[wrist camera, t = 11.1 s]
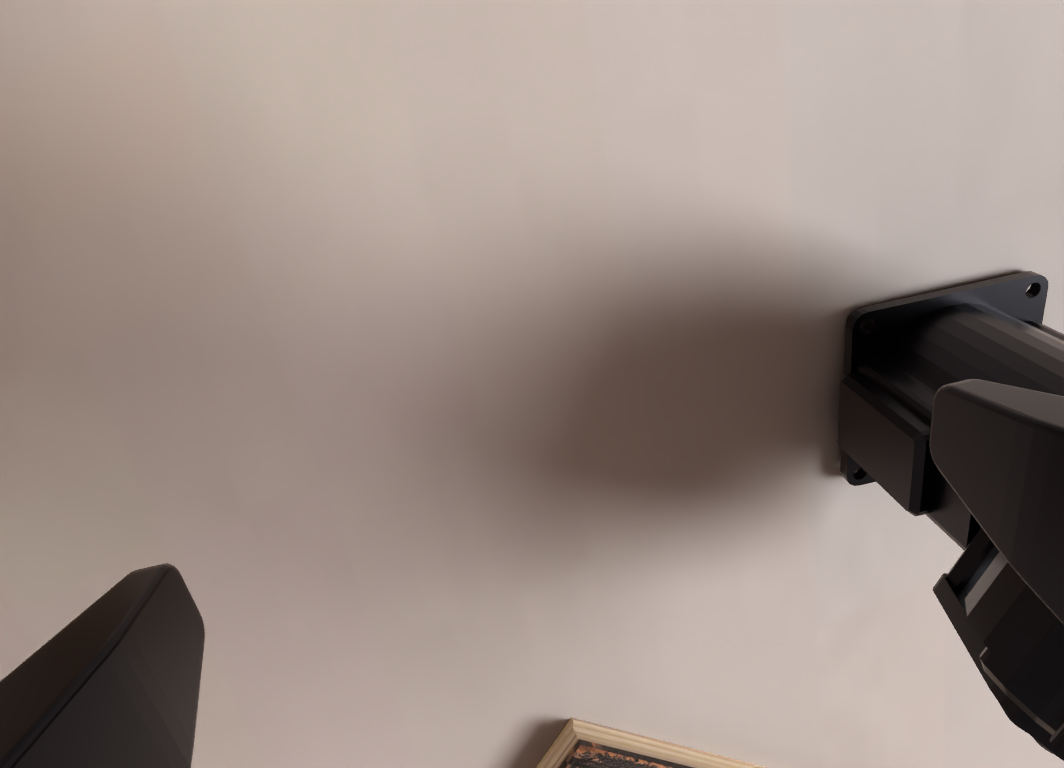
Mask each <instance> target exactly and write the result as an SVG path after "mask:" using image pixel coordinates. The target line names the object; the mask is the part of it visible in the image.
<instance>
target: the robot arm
mask: <svg viewBox="0 0 1064 768" xmlns="http://www.w3.org/2000/svg"><path fill="white" fill-rule="evenodd" d="M1030 284H1031V287H1030V289H1029V290H1028V291H1027V292H1026V290H1027V288H1028V287H1029V286H1030ZM1047 291H1048V281H1047V279H1046V277H1044V276H1042V275H1039V274H1037V273H1034V272H1032V271H1026V272H1021V273H1017V274H1012V275H1008V276H1003V277H998V278H994V279H989V280H985V281H980V282H976V283H971V284H966V285H962V286H957V287H953V288H948V289H944V290H939V291H934V292H930V293H925V294H921V295H916V296H912V297H907V298H902V299H898V300H893V301H889V302H884V303H879V304H875V305H870V306H866V307H861V308H859V309H856V310H855V311H853V312H852V313H851V314H850V316H849V317H848V319H847V321H846V326H845V353H844V375H843V377H842V379H841V381H840V392H839V422H838V445H839V446H840V447H841V464H840V472H841V475H842V476H843V477H844V478H845V479H846V480H847V481H848V482H849V483H850V484H851V485H854V486H857V485H863V484H867V483H872V482H877V483H878V484H879V485H880V486H881V487H882V488H883V489H885V490H886V491H887V492H888V493H889V494H890V495H891V496H892V497H893V498H894V499H895V500H896V501H897V502H898V503H899V504H900V505H901V506H902V507H903V508H904V509H905V510H906V511H908V512H909V513H911V514H913V515H914V516H919V515H923V514H926V515H927V516H928V517H929V518H930V519H931V520H932V521H933V522H934V523H935V524H936V525H937V526H939V527H940V528H941V529H942V530H943V531H944V532H945V533H946V534H947V535H948V536H949V537H950V538H951V539H952V540H954V541H955V542H956V543H957V544H958V545H959V546H960V547H961V548H962V549H963V550H964V552H963V553H962V555H961V556H960V557H959V559H958V560H957V562H956V563H955V564H954V566H953V567H952V569H951V570H950V572H949V573H948V574H945V573H944V574H943V575H942V576H941V578H940V579H939V580H938V582H937V583H936V585H935V586H934V587H933V591H934V593H935V595H936V596H937V598H938V600H939V602H940V603H941V605H942V607H943V609H944V610H945V612H946V614H947V615H948V617H949V619H950V621H951V622H952V624H953V626H954V628H955V629H956V631H957V633H958V635H959V636H960V638H961V640H962V642H963V643H964V645H965V647H966V648H967V650H968V652H969V654H970V655H971V657H972V659H973V661H974V662H975V664H976V666H977V668H978V669H979V671H980V673H981V674H982V676H983V678H984V680H985V681H986V683H987V685H988V687H989V688H990V690H991V691H992V693H993V694H994V696H995V697H996V699H997V700H998V702H999V703H1000V705H1001V707H1002V708H1003V710H1004V712H1005V713H1006V715H1007V716H1008V718H1009V719H1010V720H1011V721H1012V722H1013V723H1014V724H1015V725H1016V726H1018V727H1019V728H1021V729H1022V730H1024V731H1025V732H1027V733H1029V734H1030V735H1031V736H1032V737H1033V738H1034V739H1035V740H1036V742H1037V743H1038V744H1039V745H1040V746H1041V747H1043V748H1044V749H1045V750H1047V751H1049V752H1050V753H1053V754H1055V755H1056V756H1058V757H1059V758H1060V759H1062V760H1063V761H1064V334H1062V333H1060V332H1058V331H1056V330H1053V329H1051V328H1049V327H1047V326H1045V325H1043V324H1042V320H1043V314H1044V308H1045V302H1046V297H1047ZM867 319H868V324H867V325H866V326H865V328H863V329H861V330H860V326H861V324H862V323H863V322H864V321H865V320H867ZM858 468H860V469H859V470H858V471H857V472H855V473H854V471H855V470H856V469H858ZM204 640H205V630H204V624H203V620H202V617H201V615H200V612H199V610H198V608H197V606H196V604H195V602H194V600H193V598H192V596H191V594H190V592H189V590H188V588H187V586H186V584H185V582H184V580H183V578H182V576H181V574H180V572H179V571H178V569H177V568H176V567H175V566H173V565H170V564H168V563H167V564H161V565H157V566H152V567H148V568H143V569H139V570H135V571H133V572H131V573H129V574H128V575H127V576H126V577H124V578H123V579H122V580H121V581H120V582H118V583H117V584H116V585H115V586H114V587H113V588H111V589H110V590H109V591H108V592H107V593H105V594H104V595H103V596H102V597H101V598H99V599H98V600H97V601H96V602H95V603H93V604H92V605H91V606H90V607H89V608H87V609H86V610H85V611H84V612H83V613H82V614H80V615H79V616H78V617H77V618H76V619H74V620H73V621H72V622H71V623H70V624H68V625H67V626H66V627H65V628H64V629H62V630H61V631H60V632H59V633H58V634H56V635H55V636H54V637H53V638H52V639H51V640H49V641H48V642H47V643H46V644H45V645H43V646H42V647H41V648H40V649H39V650H37V651H36V652H35V653H34V654H33V655H31V656H30V657H29V658H28V659H27V660H26V661H24V662H23V663H22V664H21V665H20V666H18V667H17V668H16V669H15V670H14V671H12V672H11V673H10V674H9V675H8V676H6V677H5V678H4V679H3V680H2V681H0V768H191V762H192V755H193V747H194V738H195V728H196V718H197V709H198V699H199V689H200V679H201V670H202V660H203V650H204Z"/></svg>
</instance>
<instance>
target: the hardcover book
mask: <svg viewBox="0 0 1064 768" xmlns="http://www.w3.org/2000/svg"><path fill="white" fill-rule="evenodd" d="M536 768H766V767H762V766H758V765H755V764H751V763H747V762H743V761H739V760H735V759H731V758H727V757H723V756H719V755H715V754H712V753H708V752H704V751H700V750H696V749H692V748H688V747H684V746H680V745H676V744H673V743H669V742H665V741H661V740H657V739H653V738H649V737H645V736H641V735H637V734H633V733H630V732H626V731H622V730H618V729H614V728H610V727H606V726H602V725H598V724H594V723H590V722H587V721H583V720H579V719H575V718H571V719H570V720H569V722H568V723H567V724H566V726H565V727H564V729H563V730H562V732H561V733H560V734H559V736H558V737H557V739H556V740H555V741H554V743H553V744H552V746H551V747H550V748H549V750H548V751H547V753H546V754H545V755H544V757H543V758H542V760H541V761H540V762H539V764H538V765H537V767H536Z"/></svg>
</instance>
